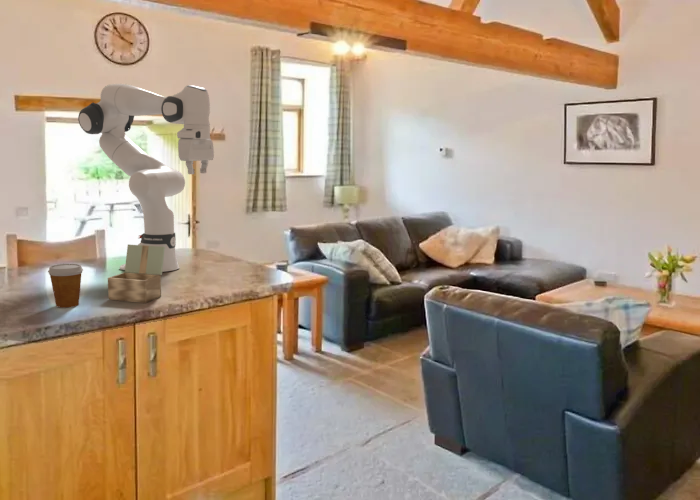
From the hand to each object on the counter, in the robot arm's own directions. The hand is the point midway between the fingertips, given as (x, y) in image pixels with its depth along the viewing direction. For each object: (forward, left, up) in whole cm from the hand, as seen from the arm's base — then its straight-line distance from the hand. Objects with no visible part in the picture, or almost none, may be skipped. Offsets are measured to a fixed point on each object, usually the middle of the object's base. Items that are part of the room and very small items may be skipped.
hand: (197, 173), depth 217 cm
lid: (-7, -24, -27) cm, 37 cm away
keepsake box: (-7, -29, -39) cm, 49 cm away
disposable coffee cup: (-21, -43, -39) cm, 62 cm away
